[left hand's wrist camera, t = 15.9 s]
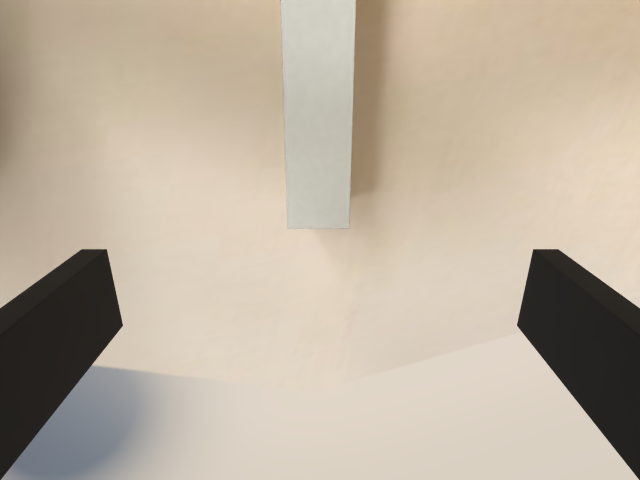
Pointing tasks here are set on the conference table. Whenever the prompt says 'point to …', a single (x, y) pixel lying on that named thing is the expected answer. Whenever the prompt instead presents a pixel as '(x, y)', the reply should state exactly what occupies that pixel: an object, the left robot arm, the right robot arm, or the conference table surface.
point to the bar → (318, 110)
